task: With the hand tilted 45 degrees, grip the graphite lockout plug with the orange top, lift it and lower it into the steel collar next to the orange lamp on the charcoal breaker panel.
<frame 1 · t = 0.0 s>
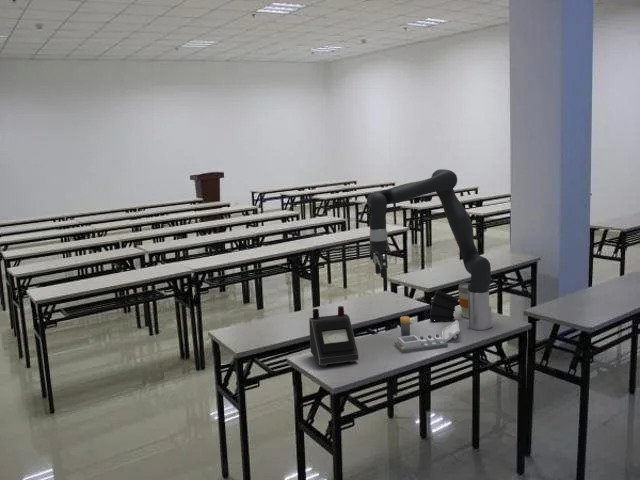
hand: (380, 275, 256), 29 cm above the table, tool pointing down, fingers open, 8 cm apart
lockout plug: (406, 339, 259), on the table
light switch: (450, 338, 258), on the table
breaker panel: (421, 346, 249), on the table
reusable coffee cup: (471, 316, 285), on the table
voltmeter: (334, 359, 241), on the table
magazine: (444, 321, 281), on the table
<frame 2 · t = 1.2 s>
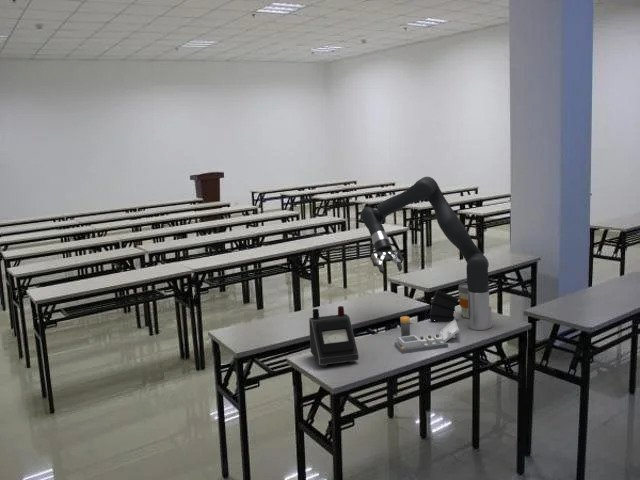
hand: (391, 271, 265), 28 cm above the table, tool tilted 45°, fingers open, 8 cm apart
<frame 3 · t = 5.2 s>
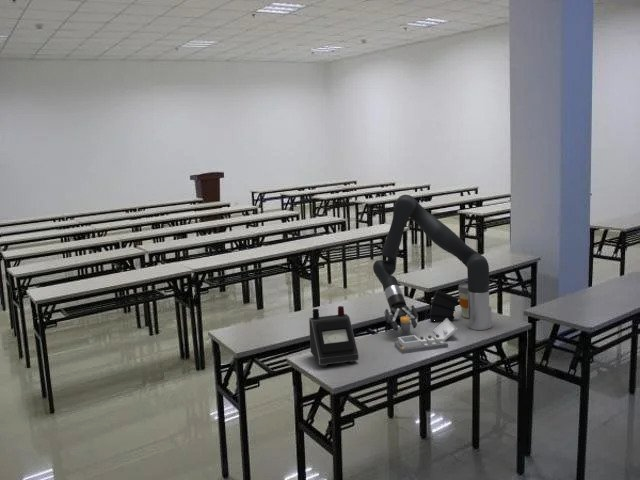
hand: (406, 328, 257), 5 cm above the table, tool tilted 45°, fingers open, 8 cm apart
light switch: (445, 336, 260), on the table
everything else where it was.
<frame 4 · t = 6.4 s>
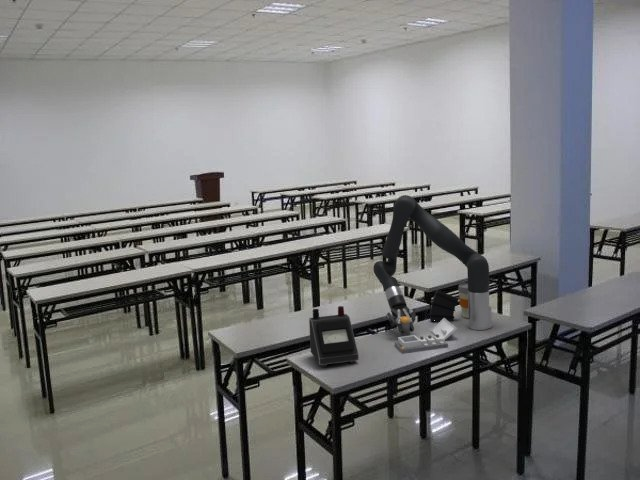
hand: (407, 331, 257), 4 cm above the table, tool tilted 45°, fingers closed on lockout plug, 4 cm apart
lockout plug: (406, 339, 259), on the table, touching gripper
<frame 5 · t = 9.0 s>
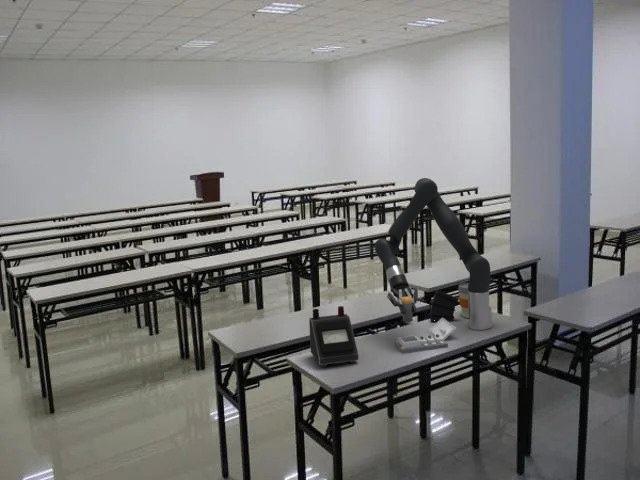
hand: (409, 312, 244), 16 cm above the table, tool tilted 45°, fingers closed on lockout plug, 4 cm apart
lockout plug: (407, 320, 246), point 12 cm above the table, touching gripper
light switch: (442, 336, 261), on the table, touching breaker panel
everything else where it was.
when the fingers open (6 cm above the table, at t = 11.6 s): lockout plug stays where it is, resting on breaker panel.
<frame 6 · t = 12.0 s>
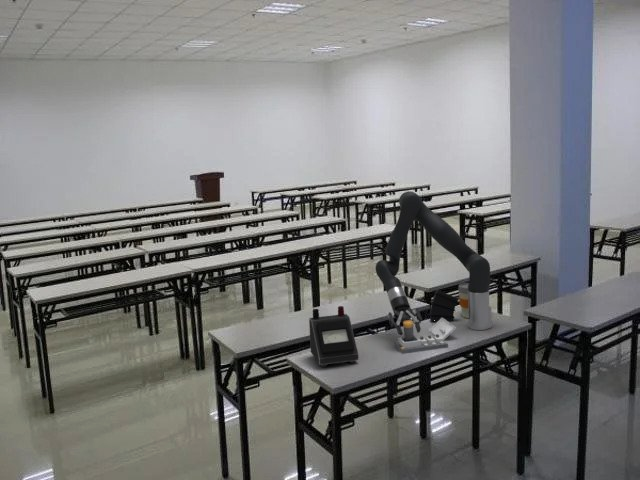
hand: (410, 333, 245), 7 cm above the table, tool tilted 45°, fingers open, 7 cm apart
lockout plug: (409, 344, 248), point 2 cm above the table, touching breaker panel
light switch: (442, 336, 261), on the table
everything else where it was.
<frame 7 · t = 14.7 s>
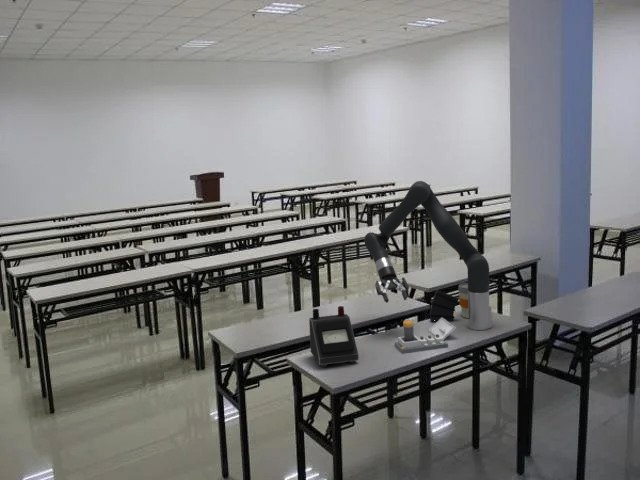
hand: (396, 300, 257), 18 cm above the table, tool tilted 45°, fingers open, 8 cm apart
nothing on the table moved.
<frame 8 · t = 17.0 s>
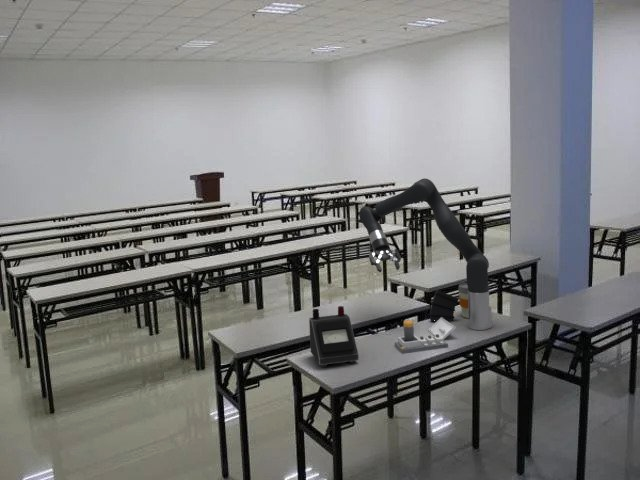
hand: (389, 270, 267), 29 cm above the table, tool tilted 45°, fingers open, 8 cm apart
nothing on the table moved.
at the end: lockout plug 0.1 cm from the target spot on the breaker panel, point 1.6 cm above the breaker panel's base; lockout plug tilted 2°; the gripper is holding nothing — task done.
